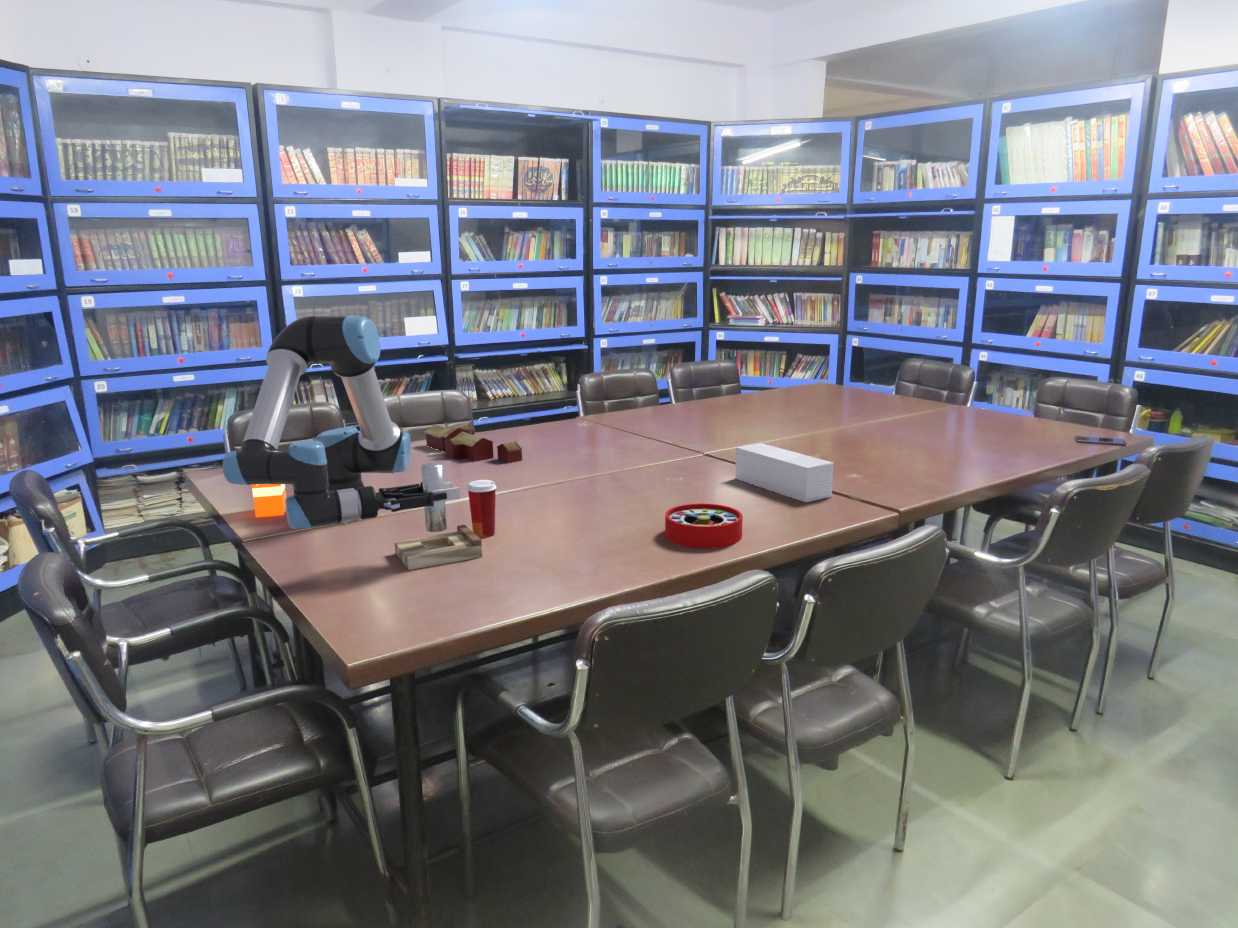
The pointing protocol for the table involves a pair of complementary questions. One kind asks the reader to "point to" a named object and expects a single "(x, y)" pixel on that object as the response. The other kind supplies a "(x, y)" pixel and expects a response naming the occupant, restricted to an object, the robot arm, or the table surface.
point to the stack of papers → (784, 472)
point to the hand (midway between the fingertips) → (455, 490)
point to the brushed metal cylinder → (436, 513)
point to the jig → (439, 548)
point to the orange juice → (269, 499)
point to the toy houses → (469, 444)
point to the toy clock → (703, 525)
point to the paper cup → (482, 507)
